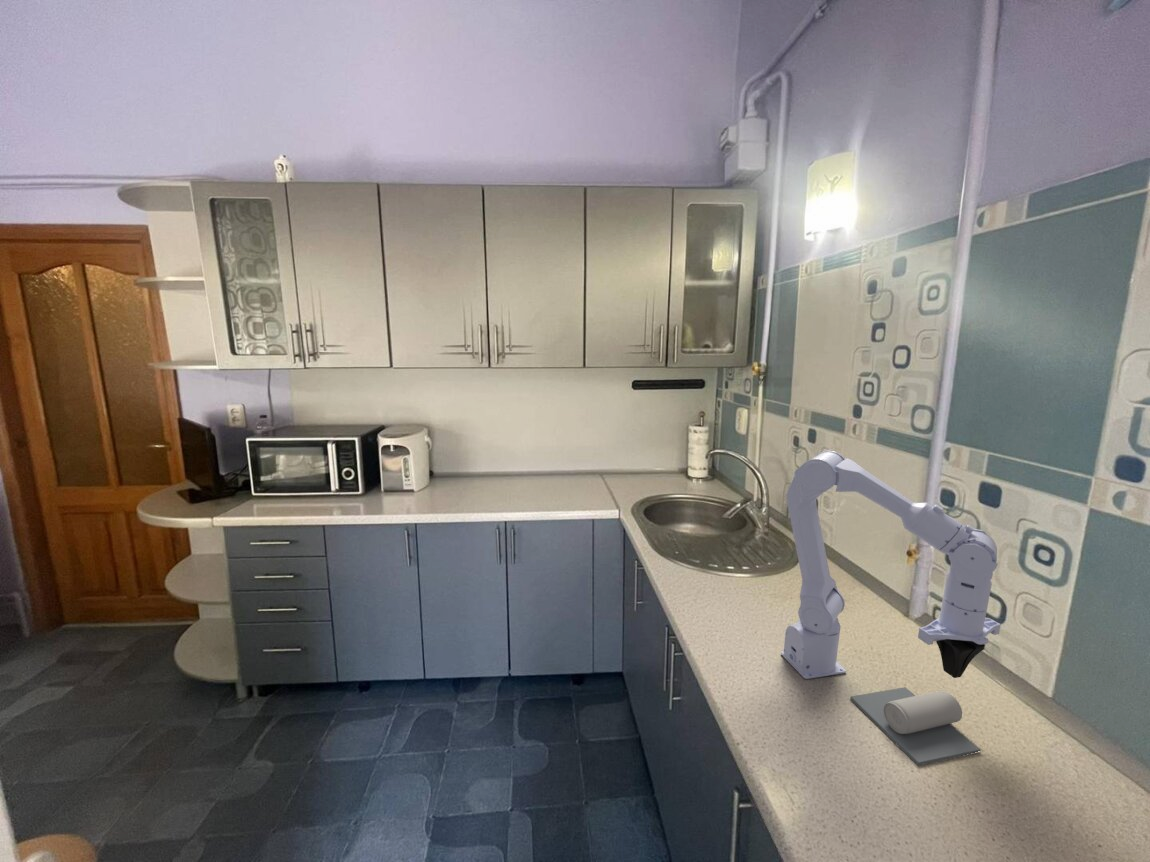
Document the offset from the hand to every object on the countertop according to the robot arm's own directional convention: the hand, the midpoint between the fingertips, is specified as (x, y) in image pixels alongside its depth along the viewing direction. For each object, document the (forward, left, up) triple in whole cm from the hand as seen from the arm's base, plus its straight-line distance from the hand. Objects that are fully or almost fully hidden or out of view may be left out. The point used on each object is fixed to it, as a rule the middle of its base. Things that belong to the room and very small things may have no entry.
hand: (951, 673), depth 81 cm
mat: (-7, 0, -9) cm, 11 cm away
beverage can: (0, 0, -6) cm, 6 cm away
